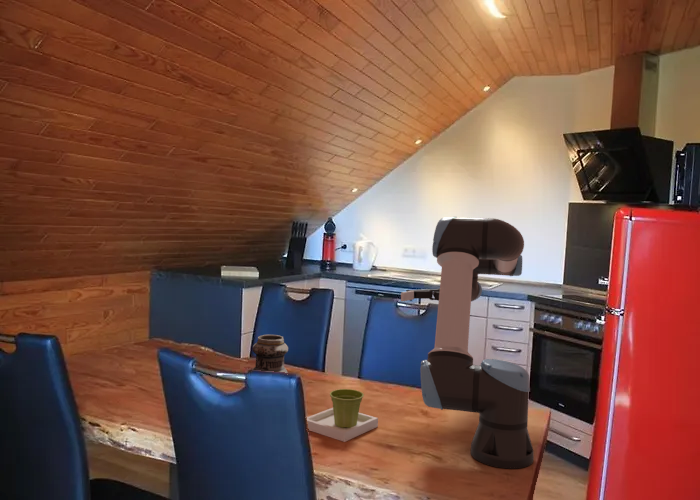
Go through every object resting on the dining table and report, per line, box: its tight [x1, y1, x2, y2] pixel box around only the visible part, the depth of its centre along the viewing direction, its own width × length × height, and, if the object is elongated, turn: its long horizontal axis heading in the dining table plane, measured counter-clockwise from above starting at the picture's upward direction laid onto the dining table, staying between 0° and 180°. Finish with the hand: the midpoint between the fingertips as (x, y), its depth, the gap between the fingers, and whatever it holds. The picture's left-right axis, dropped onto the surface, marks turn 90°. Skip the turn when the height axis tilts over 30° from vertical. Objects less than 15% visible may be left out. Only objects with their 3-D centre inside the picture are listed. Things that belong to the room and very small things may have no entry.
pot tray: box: [306, 407, 379, 443], centre depth 161 cm, size 15×15×2 cm
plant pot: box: [329, 388, 365, 428], centre depth 160 cm, size 9×9×9 cm
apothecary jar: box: [252, 334, 289, 373], centre depth 194 cm, size 12×12×18 cm
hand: (420, 299), depth 178 cm, fingers open, 13 cm apart
